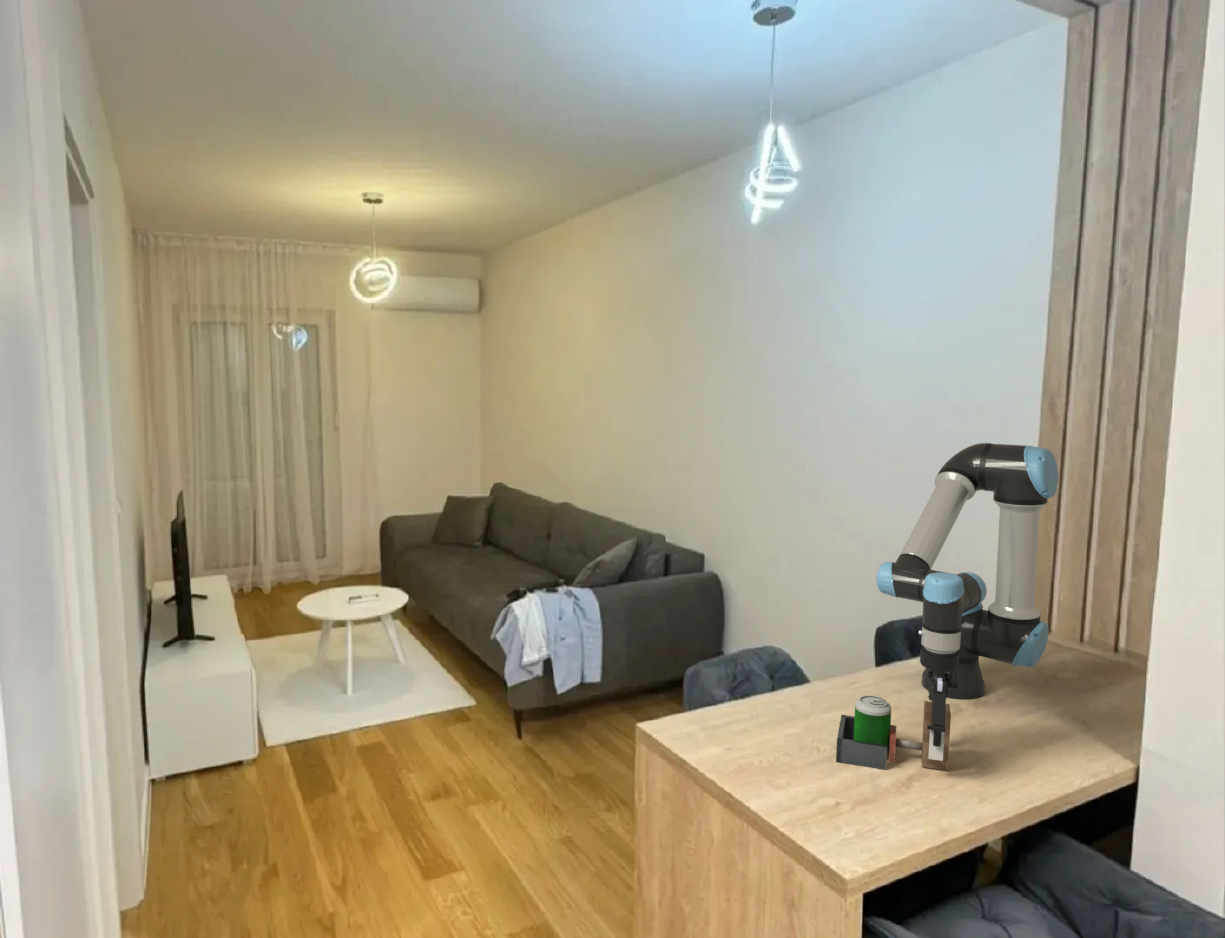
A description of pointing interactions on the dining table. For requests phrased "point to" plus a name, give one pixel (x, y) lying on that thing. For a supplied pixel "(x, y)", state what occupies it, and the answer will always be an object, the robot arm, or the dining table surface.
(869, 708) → the soda can
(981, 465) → the robot arm
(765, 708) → the dining table surface
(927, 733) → the striker
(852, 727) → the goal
